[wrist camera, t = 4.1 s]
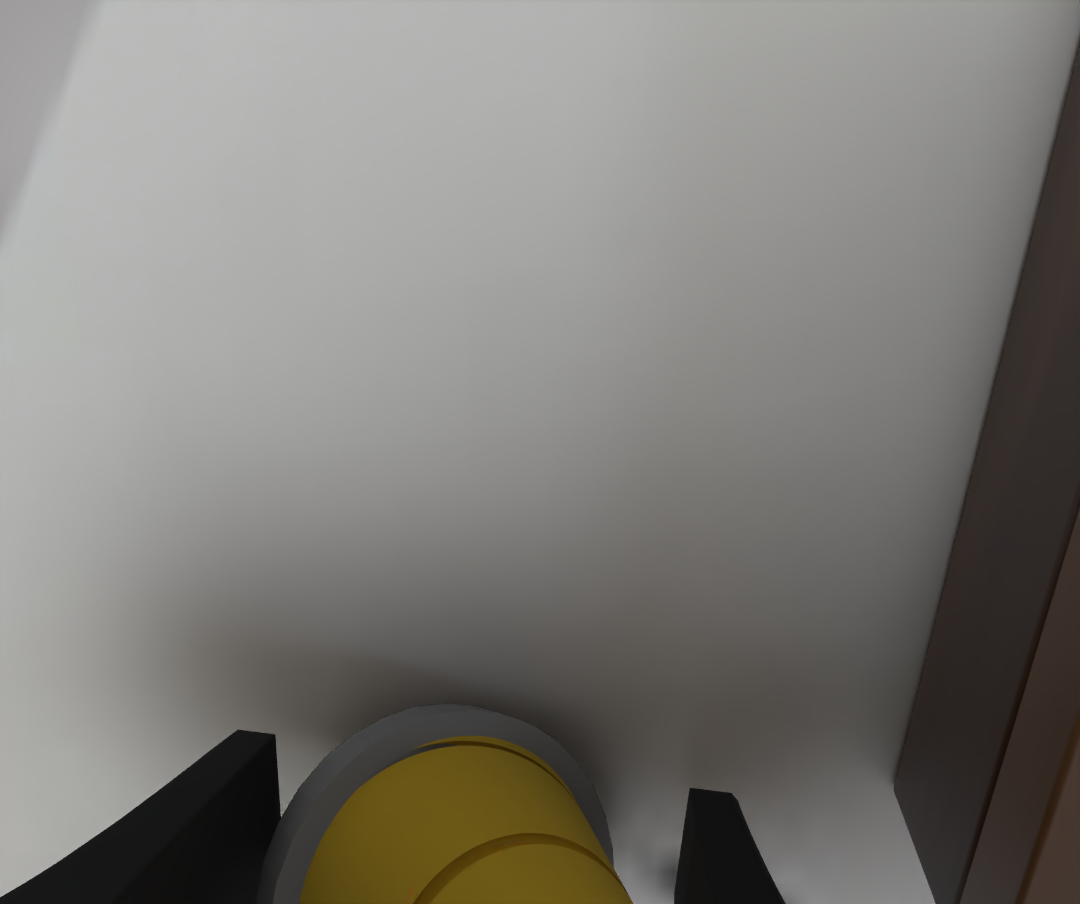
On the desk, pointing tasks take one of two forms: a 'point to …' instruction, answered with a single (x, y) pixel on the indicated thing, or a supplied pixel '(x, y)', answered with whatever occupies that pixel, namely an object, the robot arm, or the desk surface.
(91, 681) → the desk surface
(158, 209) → the desk surface
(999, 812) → the desk riser
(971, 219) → the desk surface
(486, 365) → the desk surface
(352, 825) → the yellow stepped cone
